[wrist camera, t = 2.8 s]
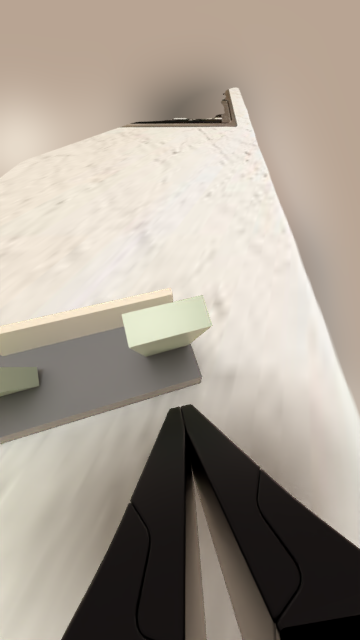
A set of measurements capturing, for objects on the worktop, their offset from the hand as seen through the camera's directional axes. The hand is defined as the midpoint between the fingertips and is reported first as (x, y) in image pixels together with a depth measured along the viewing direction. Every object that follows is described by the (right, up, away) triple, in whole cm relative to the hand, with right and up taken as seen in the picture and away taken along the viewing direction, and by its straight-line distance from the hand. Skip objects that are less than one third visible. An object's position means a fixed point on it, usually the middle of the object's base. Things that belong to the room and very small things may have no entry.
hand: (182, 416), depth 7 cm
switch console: (-8, -1, +12) cm, 14 cm away
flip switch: (-2, +1, +11) cm, 11 cm away
